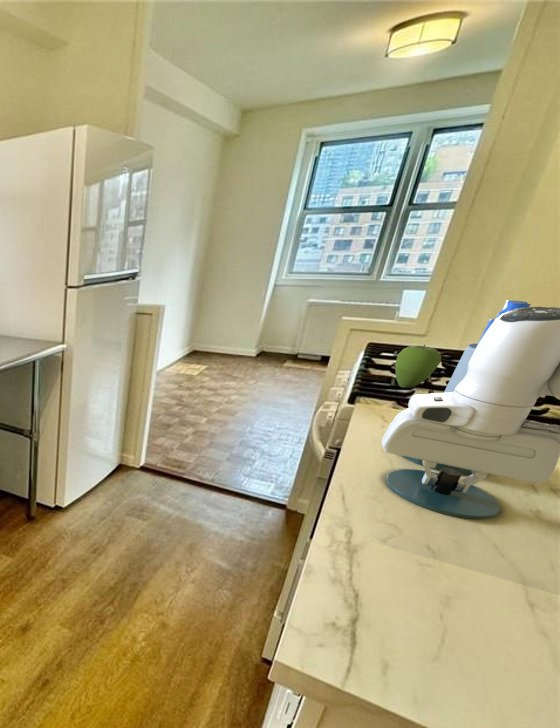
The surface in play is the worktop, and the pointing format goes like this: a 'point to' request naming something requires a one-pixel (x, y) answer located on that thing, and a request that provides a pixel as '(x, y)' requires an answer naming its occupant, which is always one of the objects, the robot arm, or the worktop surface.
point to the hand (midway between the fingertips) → (442, 487)
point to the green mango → (416, 365)
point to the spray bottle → (469, 351)
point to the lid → (443, 494)
